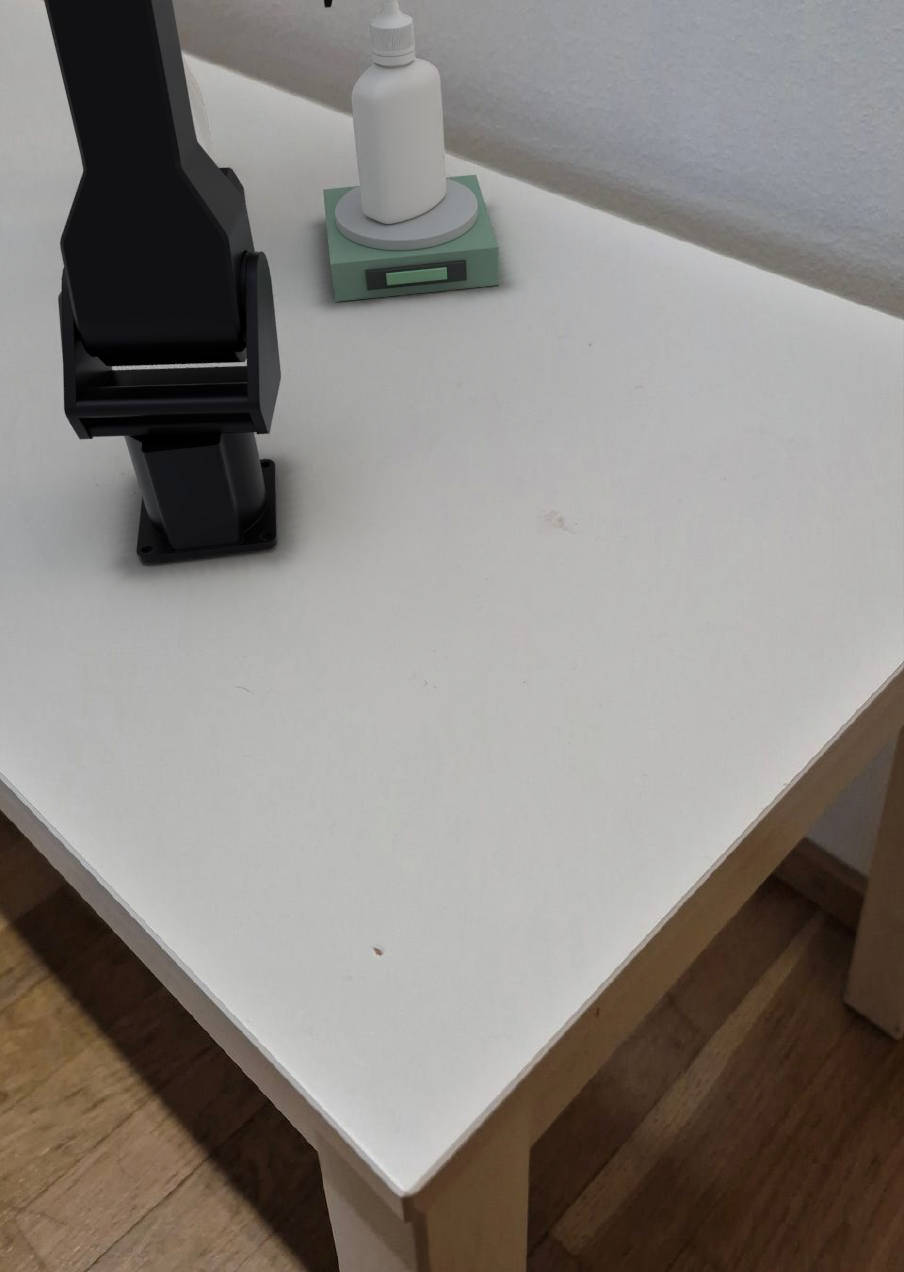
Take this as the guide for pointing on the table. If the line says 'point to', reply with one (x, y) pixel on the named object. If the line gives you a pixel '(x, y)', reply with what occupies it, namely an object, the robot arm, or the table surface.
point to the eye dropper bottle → (398, 124)
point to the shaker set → (199, 113)
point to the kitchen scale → (411, 245)
